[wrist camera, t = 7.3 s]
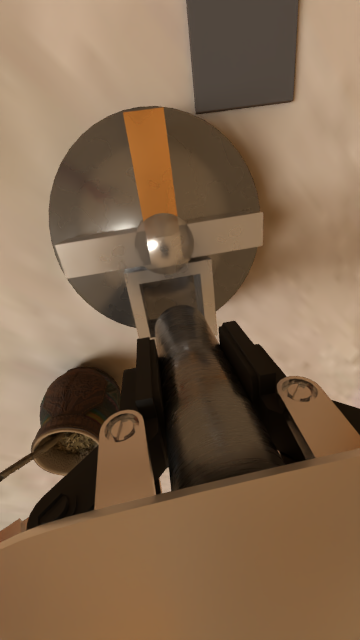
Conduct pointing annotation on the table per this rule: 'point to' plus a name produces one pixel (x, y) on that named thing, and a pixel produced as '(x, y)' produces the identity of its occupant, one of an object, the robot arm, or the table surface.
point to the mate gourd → (71, 420)
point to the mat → (242, 52)
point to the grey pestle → (206, 406)
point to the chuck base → (125, 211)
